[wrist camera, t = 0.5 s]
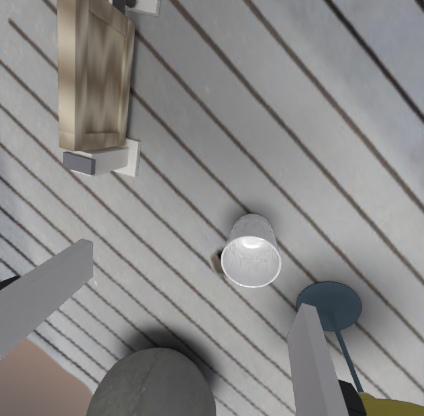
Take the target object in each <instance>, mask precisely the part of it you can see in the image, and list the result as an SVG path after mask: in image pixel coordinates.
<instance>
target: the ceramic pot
mask: <svg viewBox="0 0 424 416" xmlns="http://www.w3.org/2000/svg"><path fill="white" fill-rule="evenodd" d="M86 416H216V405H215V401H214V397H213V395H212V392H211V390H210V388H209V386H208V383H207V382H206V380H205V378H204V376H203V375H202V373H201V372H200V370H199V369H198V367H197V366H196V365H195V364H194V363H193V362H192V361H191V360H190V359H189V358H187V357H186V356H184V355H183V354H181V353H180V352H178V351H175V350H173V349H169V348H149V349H145V350H140V351H137V352H135V353H133V354H130V355H128V356H126V357H124V358H122V359H121V360H119V361H118V362H117V363H116V364H115V365H114V366H113V367H112V368H111V369H110V370H109V371H108V372H107V374H106V375H105V377H104V378H103V380H102V381H101V383H100V384H99V386H98V388H97V389H96V391H95V393H94V395H93V397H92V399H91V402H90V404H89V408H88V410H87V414H86Z"/></svg>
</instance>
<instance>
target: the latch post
mask: <svg viewBox="0 0 424 416" xmlns="http://www.w3.org/2000/svg"><path fill="white" fill-rule="evenodd" d="M140 149H141V141H137V140H133V139H130V138H126V139H125V145H123V146H115V147H107V148H99V149H91V150H83V151H75V152H74V151H72V153H71V152H63V167H64V168H68V169H71V170H72V171H74V172H77V173H80V174H84V175H87V176H91V177H92V176H96V175H99V174H103V173H106V172H110V171H115V172H118V173H122V174H125V175H129V176H132V177H136V176H138V167H139V158H140Z"/></svg>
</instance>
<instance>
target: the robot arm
mask: <svg viewBox="0 0 424 416" xmlns="http://www.w3.org/2000/svg"><path fill="white" fill-rule="evenodd" d="M92 277H93V242H92V241H89V240H85V239H81V240H79V241H77V242H76V243H74V244H73V245H71V246H70V247H68V248H66V249H65V250H63V251H62V252H60V253H58V254H57V255H55V256H54V257H52V258H51V259H49V260H47V261H46V262H44V263H43V264H41V265H40V266H38V267H36V268H35V269H33V270H32V271H30V272H28V273H27V274H25V275H24V276H22V277H19V276H15V277H12V278H9V279H7V280H4V281H2V282H0V360H1V359H2V358H3V357H4V356H6V355H7V354H8V353H9V352H10V351H11V350H12V349H13V348H14V347H15V346H17V345H18V344H19V343H20V342H21V341H22V340H23V339H24V338H25V337H27V336H28V335H29V334H30V333H31V332H32V331H33V330H34V329H35V328H37V327H38V326H39V325H40V324H41V323H42V322H43V321H44V320H45V319H47V318H48V317H49V316H50V315H51V314H52V313H53V312H54V311H55V310H57V309H58V308H59V307H60V306H61V305H62V304H63V303H64V302H65V301H67V300H68V299H69V298H70V297H71V296H72V295H73V294H74V293H75V292H76V291H78V290H79V289H80V288H81V287H82V286H83V285H84V284H85V283H86V282H88V281H89V280H90V279H91V278H92ZM287 342H288V350H289V358H290V366H291V374H292V382H293V390H294V398H295V406H296V414H297V416H367V413H366V410H365V407H364V405H363V402H362V399H361V397H360V396H359V394H358V393H357V391H356V390H355V388H354V387H353V385H352V384H351V383H348V382H345V381H342V380H339V379H338V378H337V375H336V372H335V369H334V365H333V362H332V359H331V355H330V352H329V349H328V346H327V342H326V339H325V336H324V333H323V329H322V326H321V323H320V320H319V316H318V313H317V310H316V307H314V306H311V305H308V304H304V303H302V304H301V306H300V308H299V311H298V313H297V315H296V317H295V320H294V322H293V324H292V326H291V329H290V331H289V333H288V335H287Z"/></svg>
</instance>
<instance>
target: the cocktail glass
mask: <svg viewBox="0 0 424 416" xmlns="http://www.w3.org/2000/svg"><path fill="white" fill-rule="evenodd" d="M302 303H304V304H308V305H311V306H314V307H316V310H317V313H318V316H319V320H320V323H321V326H322V329H323V331H335V333H336V336H337V338H338V341H339V343H340V346H341V348H342V351H343V354H344V356H345V359H346V361H347V364H348V367H349V369H350V372H351V375H352V377H353V380H354V383H355V385H356V388H357V391H358V394H359V396H360V397H361V399H362V402H363V405H364V407H365V410H366V413H367V416H424V406H420V405H417V404H413V403H409V402H404V401H398V400H389V399H376V398H375V397H373V396H372V395H370V394H368V393H365V392H364V391H363V389H362V387H361V384H360V382H359V379H358V377H357V374H356V372H355V369H354V367H353V364H352V361H351V359H350V356H349V354H348V351H347V349H346V346H345V343H344V341H343V338H342V335H341V333H340V330H341V329H344V328H346V327H349V326H350V325H352V324H353V323H354V322H355V321H356V320H357V319H358V318H359V316H360V314H361V309H362V305H361V301H360V298H359V297H358V295H357V294H356V293H355V292H354V291H353V290H352V289H351V288H350V287H348V286H346V285H343V284H341V283H337V282H320V283H316V284H313V285H311V286H309V287H307V288H306V289H305V290H304V291H302V293H301V294H300V295H299V297H298V300H297V312H298V311H299V308H300V306H301V304H302Z"/></svg>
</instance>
